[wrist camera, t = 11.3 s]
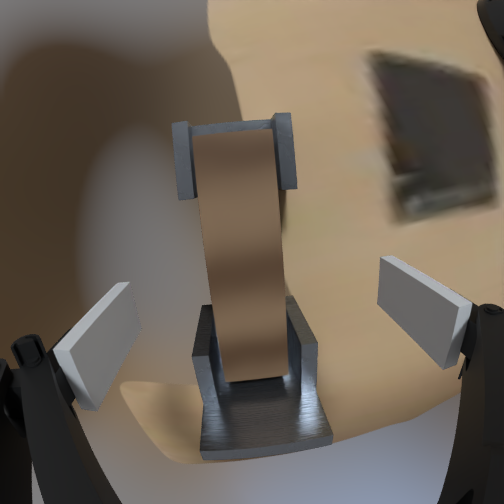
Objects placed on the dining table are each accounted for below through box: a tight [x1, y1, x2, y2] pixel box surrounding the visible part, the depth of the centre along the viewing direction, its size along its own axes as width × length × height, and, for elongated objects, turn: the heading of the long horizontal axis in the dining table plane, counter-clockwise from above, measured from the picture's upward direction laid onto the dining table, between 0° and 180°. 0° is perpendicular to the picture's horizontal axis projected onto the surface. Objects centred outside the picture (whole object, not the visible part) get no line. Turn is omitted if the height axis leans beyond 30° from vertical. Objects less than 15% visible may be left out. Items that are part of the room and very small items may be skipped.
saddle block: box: [172, 113, 297, 200], centre depth 23 cm, size 6×9×4 cm, turn 95°
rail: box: [192, 129, 289, 382], centre depth 22 cm, size 18×5×6 cm, turn 5°
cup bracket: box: [192, 296, 333, 460], centre depth 22 cm, size 6×9×14 cm, turn 95°
